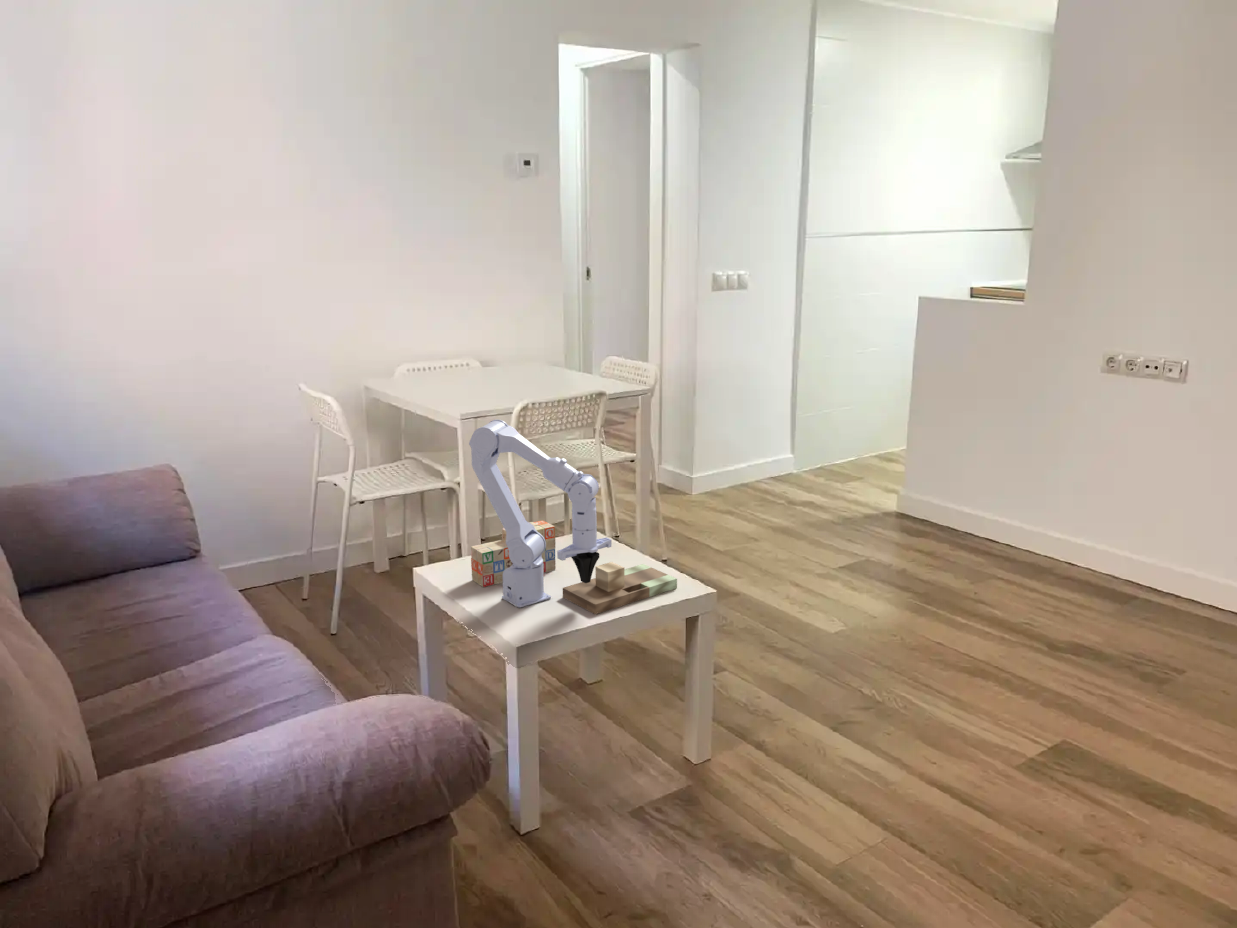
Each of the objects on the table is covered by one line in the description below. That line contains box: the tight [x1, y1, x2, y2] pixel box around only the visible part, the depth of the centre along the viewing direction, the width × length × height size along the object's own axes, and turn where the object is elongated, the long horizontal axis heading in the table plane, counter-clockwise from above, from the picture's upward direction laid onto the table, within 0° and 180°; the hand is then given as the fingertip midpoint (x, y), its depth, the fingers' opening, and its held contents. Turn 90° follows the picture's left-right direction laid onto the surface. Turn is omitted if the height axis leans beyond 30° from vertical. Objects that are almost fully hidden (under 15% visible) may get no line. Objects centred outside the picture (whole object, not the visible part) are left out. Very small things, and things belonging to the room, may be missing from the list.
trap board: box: [562, 563, 678, 615], centre depth 236 cm, size 26×13×2 cm, turn 129°
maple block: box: [594, 561, 625, 592], centre depth 233 cm, size 5×5×5 cm
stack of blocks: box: [470, 520, 557, 588], centre depth 247 cm, size 21×6×12 cm, turn 125°
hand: (585, 581), depth 228 cm, fingers closed
